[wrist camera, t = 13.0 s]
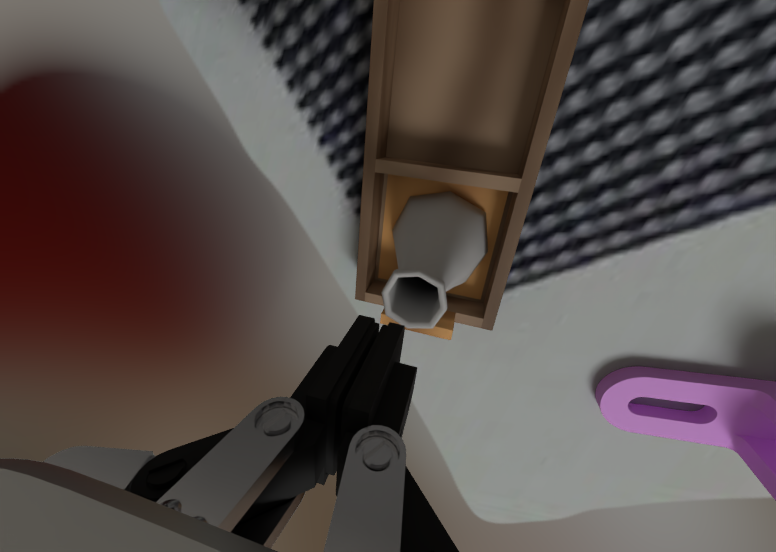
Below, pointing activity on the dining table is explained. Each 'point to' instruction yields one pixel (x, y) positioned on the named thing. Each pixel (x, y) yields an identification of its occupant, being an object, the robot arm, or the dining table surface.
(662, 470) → the dining table surface
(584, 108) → the dining table surface
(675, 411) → the bracket
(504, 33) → the divided wooden tray
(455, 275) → the flask
